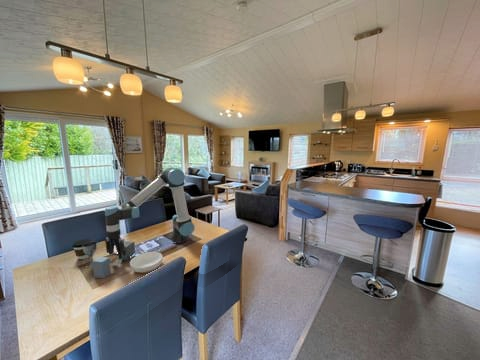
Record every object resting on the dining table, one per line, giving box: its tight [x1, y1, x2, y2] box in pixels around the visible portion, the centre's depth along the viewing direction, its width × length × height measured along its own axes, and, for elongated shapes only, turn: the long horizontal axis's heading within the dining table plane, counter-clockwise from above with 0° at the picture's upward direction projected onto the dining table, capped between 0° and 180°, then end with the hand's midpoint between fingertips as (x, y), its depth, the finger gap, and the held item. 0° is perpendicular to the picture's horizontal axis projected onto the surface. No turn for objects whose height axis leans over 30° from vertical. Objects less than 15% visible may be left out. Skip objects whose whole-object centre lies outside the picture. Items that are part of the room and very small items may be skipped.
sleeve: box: [121, 240, 136, 262], centre depth 140 cm, size 8×7×11 cm
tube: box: [108, 248, 125, 264], centre depth 134 cm, size 19×4×4 cm, turn 169°
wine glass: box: [82, 240, 98, 268], centre depth 131 cm, size 8×8×15 cm
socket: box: [92, 256, 111, 279], centre depth 120 cm, size 5×7×11 cm
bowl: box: [129, 251, 163, 274], centre depth 128 cm, size 20×20×6 cm
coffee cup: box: [71, 238, 92, 260], centre depth 139 cm, size 11×11×12 cm
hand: (116, 262), depth 131 cm, fingers closed on tube, 4 cm apart
